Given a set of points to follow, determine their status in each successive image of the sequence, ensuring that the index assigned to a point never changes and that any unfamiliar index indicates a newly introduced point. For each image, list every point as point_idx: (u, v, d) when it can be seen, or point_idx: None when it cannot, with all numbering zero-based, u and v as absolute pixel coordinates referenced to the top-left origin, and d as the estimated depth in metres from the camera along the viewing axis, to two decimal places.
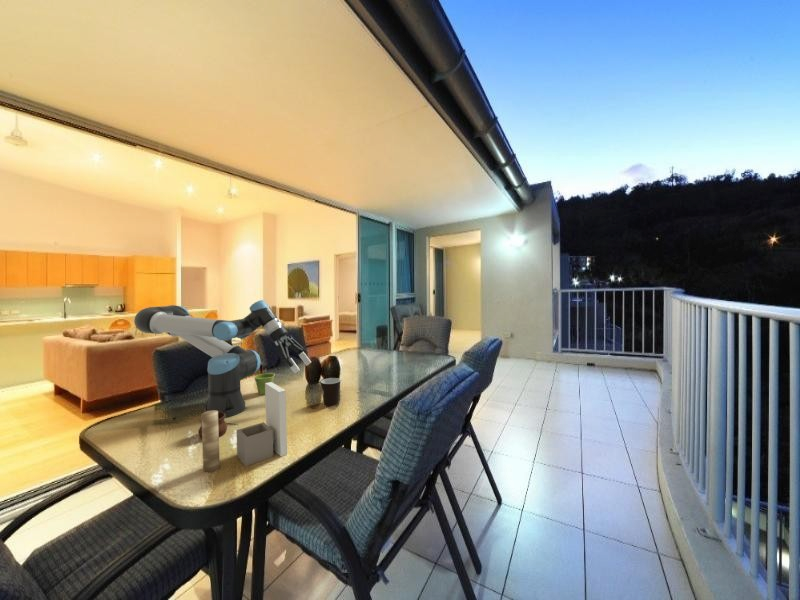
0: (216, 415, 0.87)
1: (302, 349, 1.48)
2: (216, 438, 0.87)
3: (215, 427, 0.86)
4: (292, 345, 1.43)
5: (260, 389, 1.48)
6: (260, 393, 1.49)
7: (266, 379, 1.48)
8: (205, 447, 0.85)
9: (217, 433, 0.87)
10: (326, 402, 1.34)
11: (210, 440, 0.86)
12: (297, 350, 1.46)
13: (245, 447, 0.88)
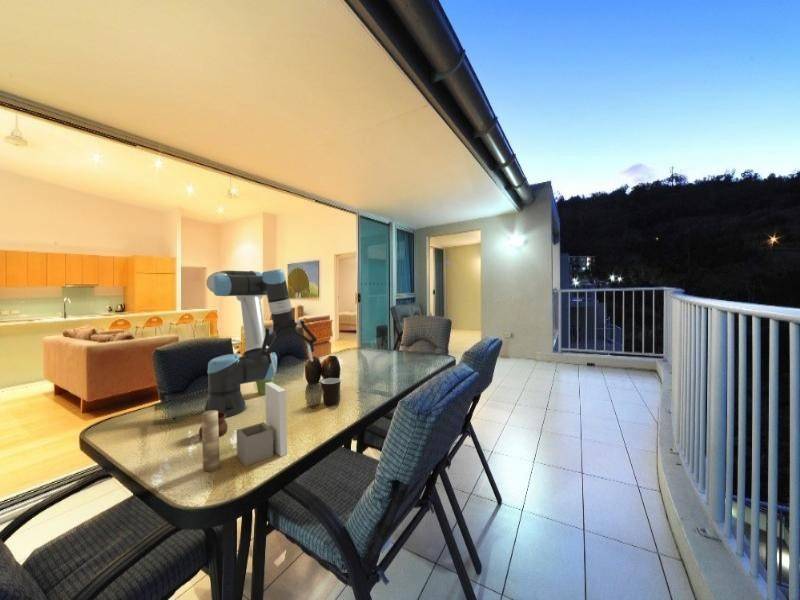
0: (216, 415, 0.87)
1: (311, 341, 1.17)
2: (216, 438, 0.87)
3: (215, 427, 0.86)
4: (296, 334, 1.15)
5: (260, 389, 1.48)
6: (260, 393, 1.49)
7: (266, 379, 1.48)
8: (205, 447, 0.85)
9: (217, 433, 0.87)
10: (326, 402, 1.34)
11: (210, 440, 0.86)
12: None
13: (245, 447, 0.88)
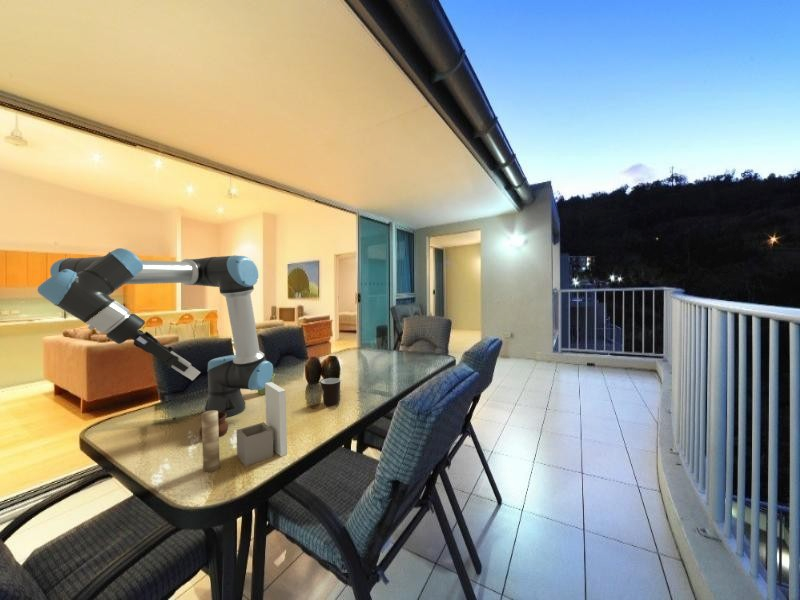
0: (216, 415, 0.87)
1: None
2: (216, 438, 0.87)
3: (215, 427, 0.86)
4: None
5: None
6: (260, 393, 1.49)
7: None
8: (205, 447, 0.85)
9: (217, 433, 0.87)
10: (326, 402, 1.34)
11: (210, 440, 0.86)
12: None
13: (245, 447, 0.88)
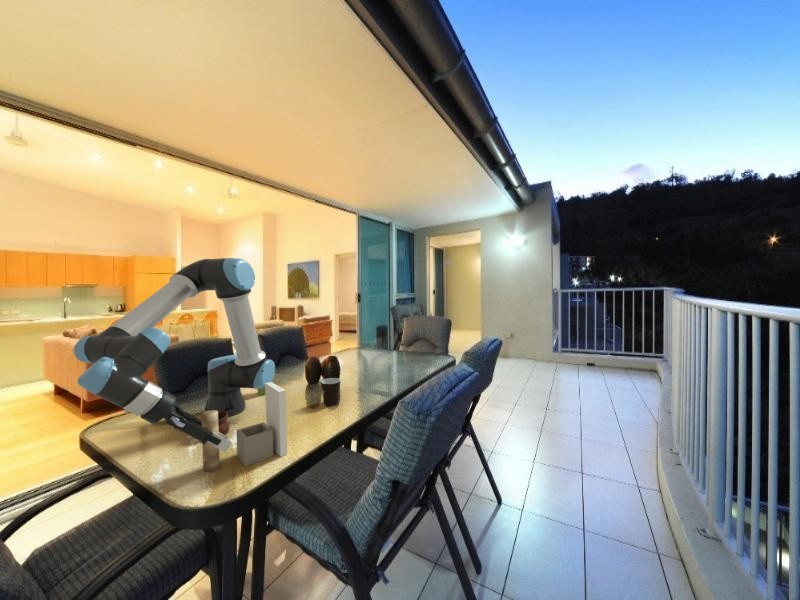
0: (216, 415, 0.87)
1: None
2: None
3: (215, 427, 0.86)
4: None
5: (260, 389, 1.48)
6: (260, 393, 1.49)
7: None
8: (205, 447, 0.85)
9: (217, 433, 0.87)
10: (326, 402, 1.34)
11: None
12: None
13: (245, 447, 0.88)
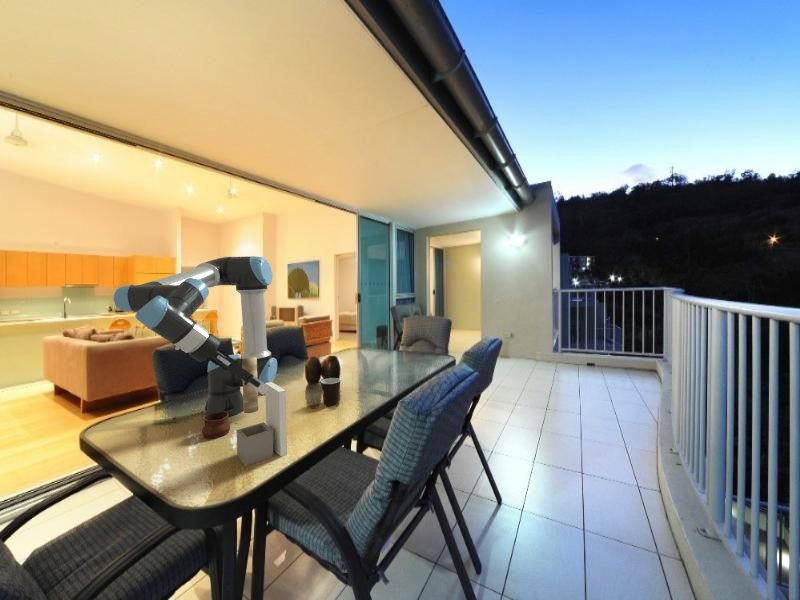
0: (255, 360, 0.92)
1: None
2: None
3: (254, 371, 0.92)
4: None
5: None
6: (260, 393, 1.49)
7: None
8: (245, 389, 0.91)
9: (256, 377, 0.93)
10: (326, 402, 1.34)
11: None
12: None
13: (245, 447, 0.88)
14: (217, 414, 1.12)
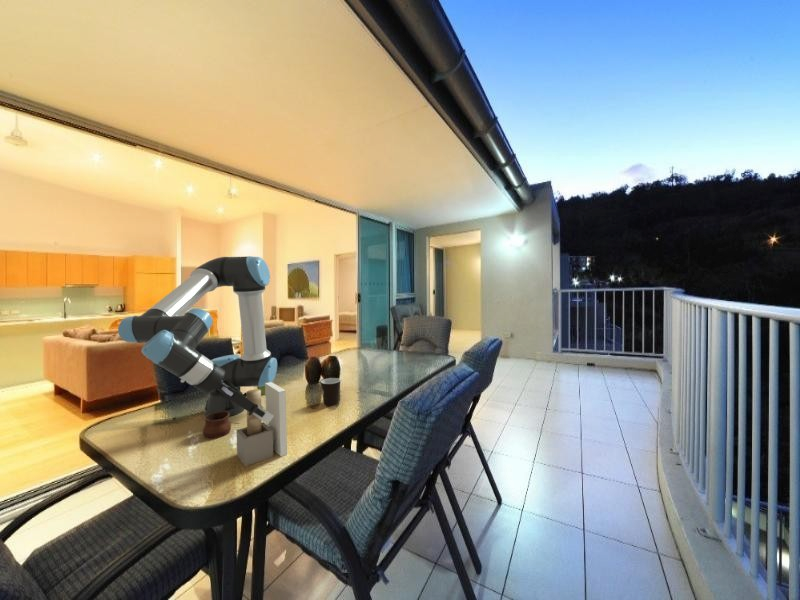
0: (259, 393, 0.93)
1: None
2: None
3: None
4: None
5: (260, 389, 1.48)
6: None
7: None
8: (249, 423, 0.91)
9: None
10: (326, 402, 1.34)
11: (255, 417, 0.92)
12: None
13: (245, 447, 0.88)
14: (217, 414, 1.12)
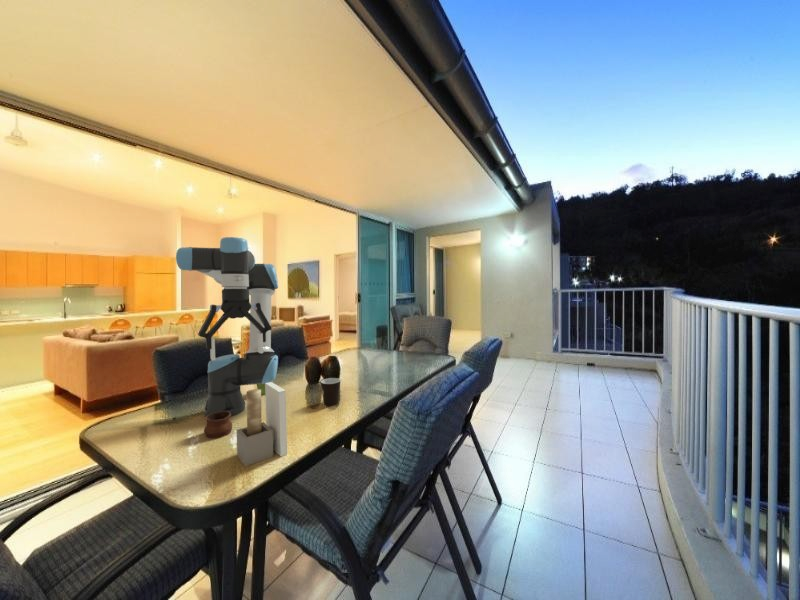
0: (260, 393, 0.93)
1: (264, 329, 1.00)
2: (260, 414, 0.93)
3: (258, 405, 0.93)
4: (248, 318, 0.97)
5: (260, 389, 1.48)
6: None
7: None
8: (249, 422, 0.92)
9: (260, 410, 0.94)
10: (326, 402, 1.34)
11: (255, 416, 0.92)
12: (256, 327, 1.00)
13: (245, 447, 0.88)
14: (219, 414, 1.12)
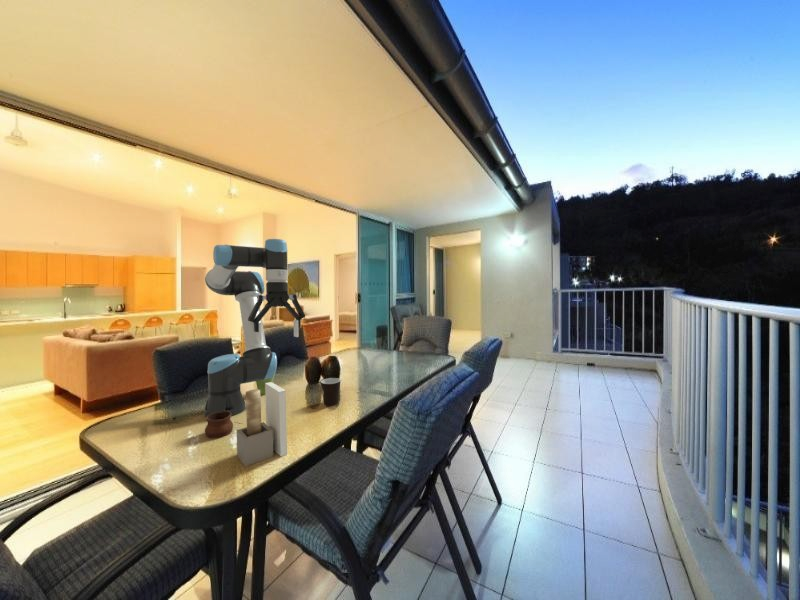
0: (259, 393, 0.93)
1: (299, 317, 1.18)
2: (259, 415, 0.93)
3: (258, 405, 0.92)
4: (287, 307, 1.15)
5: (260, 389, 1.48)
6: (260, 393, 1.49)
7: (266, 379, 1.48)
8: (249, 423, 0.91)
9: (260, 410, 0.93)
10: (326, 402, 1.34)
11: (254, 417, 0.92)
12: (293, 314, 1.18)
13: (245, 447, 0.88)
14: (220, 414, 1.12)
